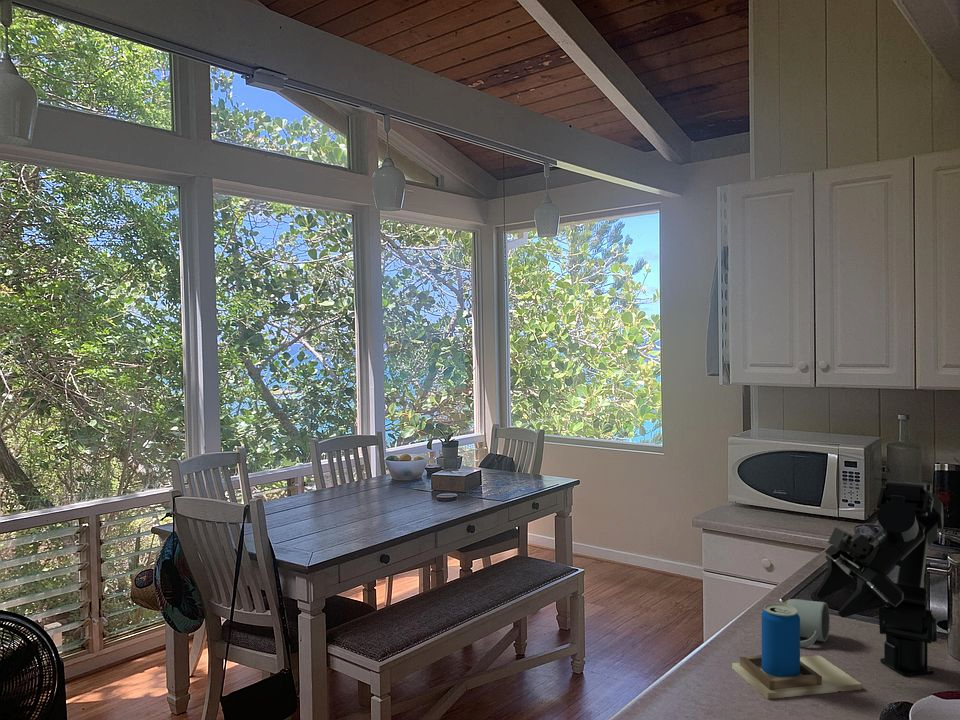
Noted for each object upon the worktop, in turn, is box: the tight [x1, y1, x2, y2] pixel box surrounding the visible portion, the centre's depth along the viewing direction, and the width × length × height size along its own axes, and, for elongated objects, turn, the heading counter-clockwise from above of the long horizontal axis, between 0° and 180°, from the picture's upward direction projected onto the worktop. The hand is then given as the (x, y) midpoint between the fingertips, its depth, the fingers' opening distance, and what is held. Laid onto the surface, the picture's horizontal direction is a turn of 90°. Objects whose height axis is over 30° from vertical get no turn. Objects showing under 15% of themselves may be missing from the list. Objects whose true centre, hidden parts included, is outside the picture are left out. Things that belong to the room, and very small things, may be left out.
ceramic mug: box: [783, 598, 831, 648], centre depth 152 cm, size 11×8×8 cm
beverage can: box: [761, 603, 801, 678], centre depth 133 cm, size 6×6×12 cm
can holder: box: [731, 654, 862, 700], centre depth 134 cm, size 18×12×2 cm, turn 100°
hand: (828, 606), depth 133 cm, fingers open, 9 cm apart
